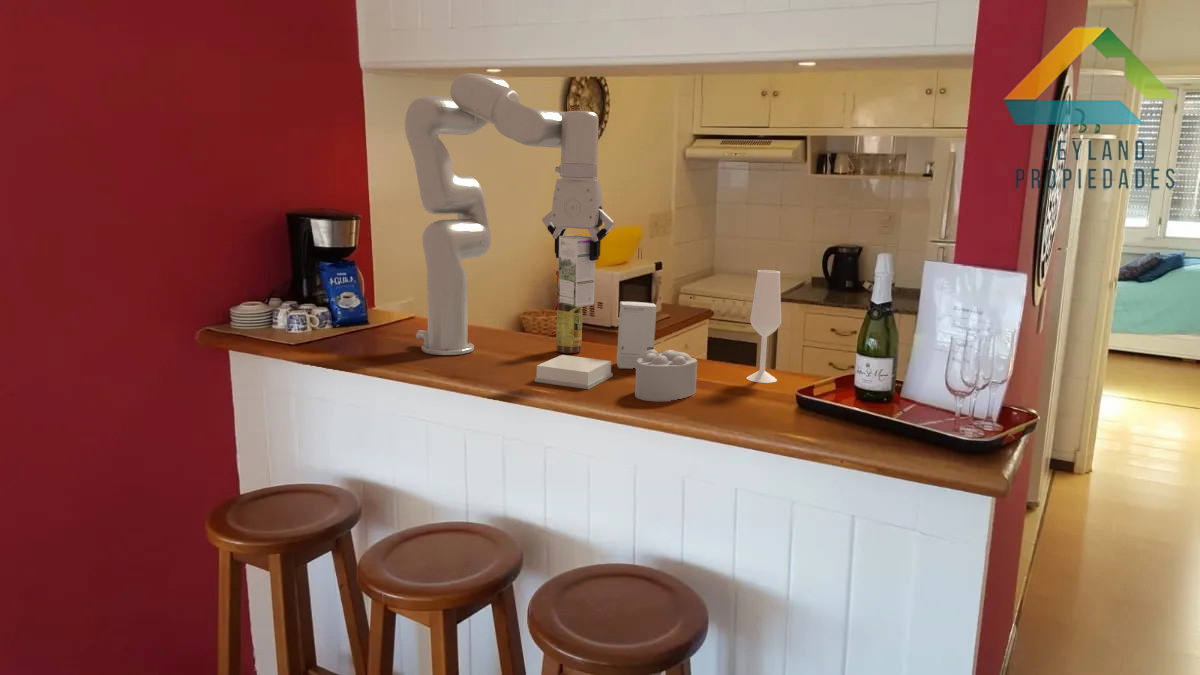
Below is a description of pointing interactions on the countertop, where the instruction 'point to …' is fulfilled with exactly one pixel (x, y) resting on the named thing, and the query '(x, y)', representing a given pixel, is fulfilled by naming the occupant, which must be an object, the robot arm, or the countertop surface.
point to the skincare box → (635, 332)
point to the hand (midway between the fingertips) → (577, 258)
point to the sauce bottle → (569, 328)
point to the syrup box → (576, 271)
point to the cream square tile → (574, 371)
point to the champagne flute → (765, 316)
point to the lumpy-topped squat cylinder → (665, 376)
